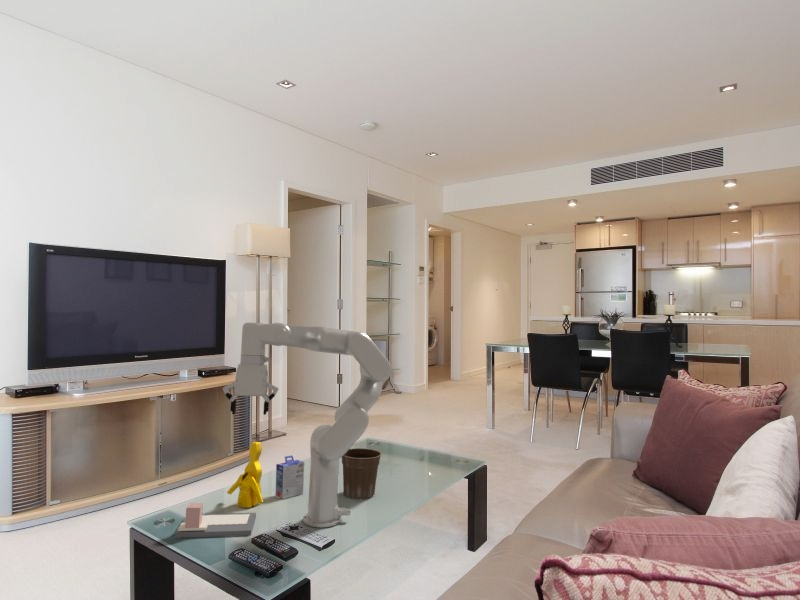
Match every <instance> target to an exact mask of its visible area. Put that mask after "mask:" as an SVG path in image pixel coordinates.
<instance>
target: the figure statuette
mask: <svg viewBox="0 0 800 600" xmlns="http://www.w3.org/2000/svg"><path fill="white" fill-rule="evenodd" d="M248 451H249V462H248V463H247V464H246V466H245V468H244V473H242V474H240V475H239V477H238V478H237V480H236V481H235V482H234V484H232V485H231V487H230V488H229V489H228V490H227V491H226V493H227V495H232V494H233V493H234V492H235V490H237V489H238V487H239V491H238V497H237V507H238V508H242V509H243V508H247V509H248V508H252V507H255V506H258V505H259V504H263V503H264V500H263V497H262V488H261V479H262V474H263V468H262V466H261V463H260V457H261V454H262V442H260V441H253V442H251V444H250V445H249V450H248Z"/></svg>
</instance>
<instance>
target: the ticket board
mask: <svg viewBox="0 0 800 600" xmlns="http://www.w3.org/2000/svg"><path fill="white" fill-rule="evenodd" d="M256 518H257V513H256V512H253V513H252V512H251V513H248V512H247V513H217V514H216V513H215V514H214V513H213V514H207V513H206V514H202V522H209V523H208V527H207V529H206V530H196V531H178V529H177V530H176V531H175V533H174V534H175V536H174V537H175V538H176V539H184V538H185V537H186V538H187V537H188V538H212V537H213V538H214V537H241V536H244V537H245V536H247V537H248V536H252V533H253V529H254V527H255V522H256ZM185 521H186V517H185V518H184V519H183V520H182V522H181V523H185ZM181 537H182V538H181ZM183 537H184V538H183Z"/></svg>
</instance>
